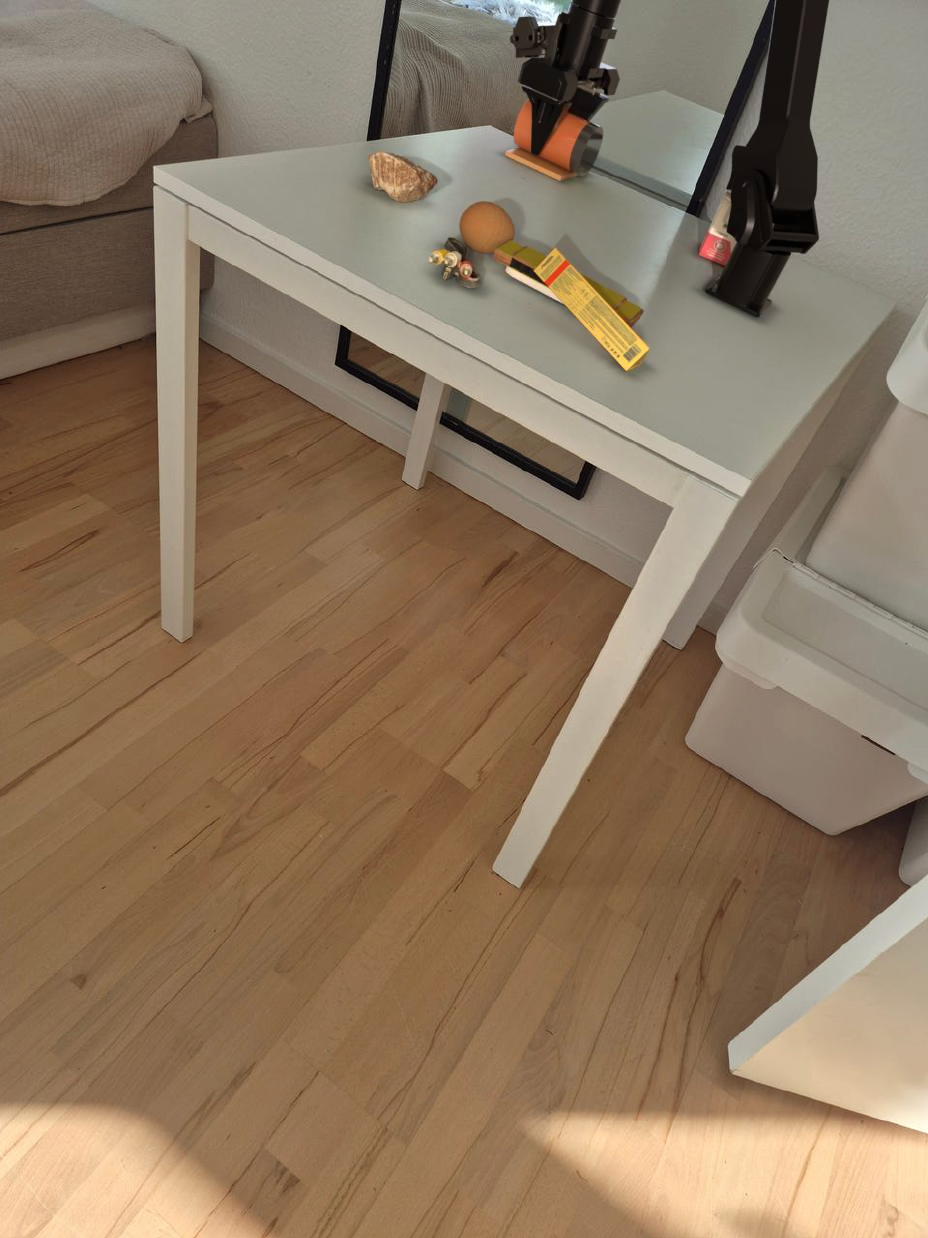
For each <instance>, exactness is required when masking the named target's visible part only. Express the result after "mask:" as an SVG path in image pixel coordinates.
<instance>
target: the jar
mask: <svg viewBox="0 0 928 1238" xmlns="http://www.w3.org/2000/svg"><path fill="white" fill-rule="evenodd" d="M531 127H532V106H531V102H530V100H529V98H528V99H527V100H526V101H525V103H524V104H523V106H522V107H521V109H520V111H519V113H518V116H517V119H516V122H515V125H514V130H513V144H514V146H516V147H517V148H521V149H523V150H525V151H527V152H530V153H531ZM603 139H604V128H603V127H602V126H601V125H599V124H596V123H594V122H592V121H591V120H590V121H587V120H585V119H583V118H581V117H578V116H576V115H574V114H572V113H570V112H567V113H566V114H565V116H564V117H563V119H562V120H561V122H560V124H559V125H558V127H557V128H556V130H555V131H554V133H553V135H552V136H551V138H550V139H549V141H548V143H547V144H546V146H545V147H544V149H543V150H542V151H541V153H540V154H539V155H536V156H538V157H540V158H542V159H545V160H547V161H549V162H551V163H553V164H555V165H558V166H560V167H562V168H564V169H566V170H568V171H570V172H573V173H575V174H577V175H578V177H581V178H582V177H585V176H586V175H587V174H588V173H589V172H590V171H591V169H592V168H593V166H594V164H595V162H596V160H597V158H598V155H599V153H600V151H601V147H602V143H603Z"/></svg>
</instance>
